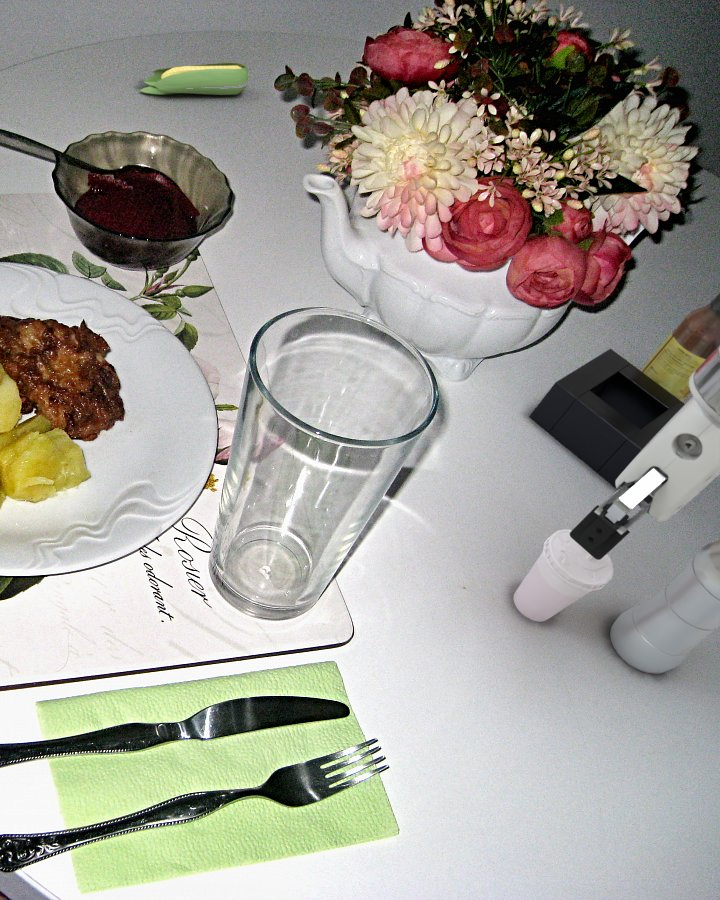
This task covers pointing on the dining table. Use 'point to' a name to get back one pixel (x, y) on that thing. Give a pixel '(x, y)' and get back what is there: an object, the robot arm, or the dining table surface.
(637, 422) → the dark storage bin
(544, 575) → the smoothie
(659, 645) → the plastic bottle
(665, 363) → the sauce bottle
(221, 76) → the edible corn
